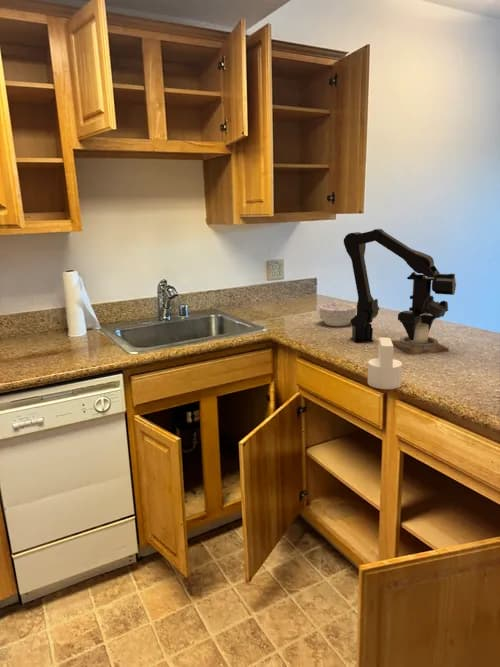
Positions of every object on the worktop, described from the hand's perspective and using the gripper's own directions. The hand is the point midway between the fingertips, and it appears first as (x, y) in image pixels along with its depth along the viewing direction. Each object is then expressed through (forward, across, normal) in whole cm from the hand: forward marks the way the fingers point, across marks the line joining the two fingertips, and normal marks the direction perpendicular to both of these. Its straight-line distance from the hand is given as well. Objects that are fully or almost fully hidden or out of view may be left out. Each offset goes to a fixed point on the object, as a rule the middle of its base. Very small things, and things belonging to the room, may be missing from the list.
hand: (418, 337), depth 164 cm
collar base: (+4, 0, 0) cm, 4 cm away
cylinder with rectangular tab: (+4, -38, -12) cm, 40 cm away
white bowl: (+4, +9, +43) cm, 44 cm away
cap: (+2, 0, 0) cm, 2 cm away
